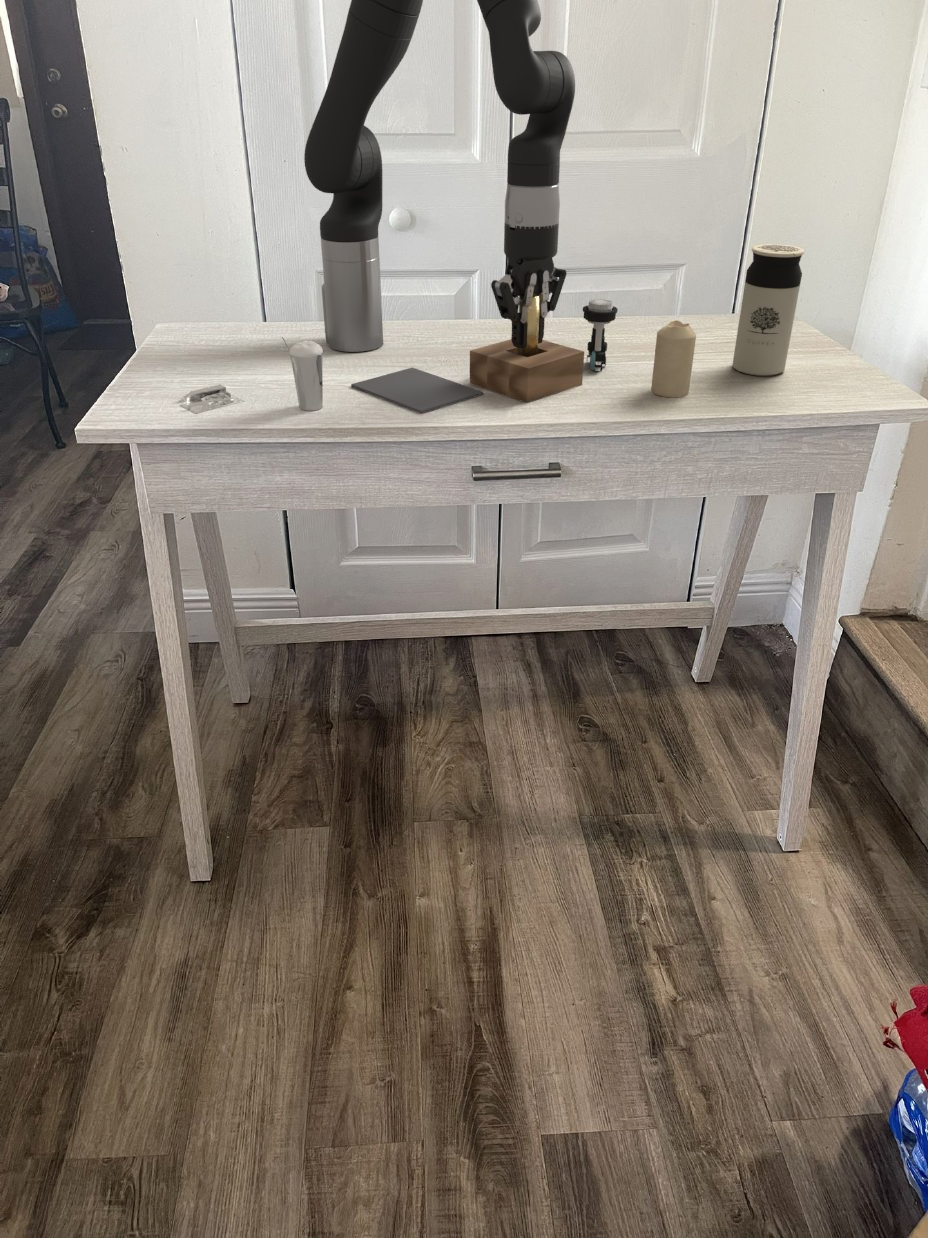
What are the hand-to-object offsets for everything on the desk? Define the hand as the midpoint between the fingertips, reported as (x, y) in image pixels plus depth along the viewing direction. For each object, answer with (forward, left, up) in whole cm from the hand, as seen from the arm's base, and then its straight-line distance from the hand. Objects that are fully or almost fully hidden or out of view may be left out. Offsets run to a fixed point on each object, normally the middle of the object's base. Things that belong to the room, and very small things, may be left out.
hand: (527, 344), depth 139 cm
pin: (0, 0, -3) cm, 3 cm away
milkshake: (-14, -30, -6) cm, 34 cm away
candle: (+17, +13, -6) cm, 22 cm away
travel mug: (+20, +32, -6) cm, 38 cm away
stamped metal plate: (-26, -39, -7) cm, 47 cm away
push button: (+2, +14, -6) cm, 15 cm away
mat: (-9, -14, -6) cm, 18 cm away
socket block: (0, 0, -6) cm, 6 cm away
